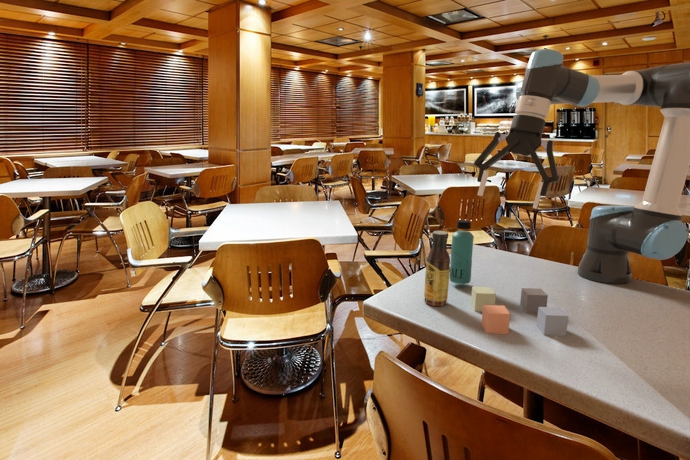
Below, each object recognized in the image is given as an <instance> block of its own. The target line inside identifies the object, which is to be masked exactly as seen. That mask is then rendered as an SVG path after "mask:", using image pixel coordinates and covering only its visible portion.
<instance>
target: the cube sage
mask: <svg viewBox="0 0 690 460" xmlns="http://www.w3.org/2000/svg"><path fill="white" fill-rule="evenodd" d="M496 296H497V294H496V292H495V291H494V289H493V287H491V286H472V287H471V298H470V305H471V306H472V308H473V310H474V311H475V312H483V305H496Z"/></svg>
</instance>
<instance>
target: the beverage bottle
mask: <svg viewBox="0 0 690 460" xmlns="http://www.w3.org/2000/svg"><path fill="white" fill-rule="evenodd" d="M455 227H456V229H459V230H456V231H455V232H454V233H452V238H451V247H450V255H449V256H450V273H449V281H450V282H451V283H454V284H458V285H466V284H470V283H471V280H472V268H473V264H472V263H473V260H472V259H473V248H474V237H475V236H474V235H473V233H472V232H470V231H468V230H470V229H471V228H472V223H471V221H470V220H467V219H466V220H465V219H460V220H459V219H458V220H457V221H456V226H455Z"/></svg>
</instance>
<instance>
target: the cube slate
mask: <svg viewBox="0 0 690 460" xmlns="http://www.w3.org/2000/svg"><path fill="white" fill-rule="evenodd" d="M568 322H569V315H568V314H567V313H566V312H565V311H564V310H563V309H562V308H561V307H559V306H558V307H557V306H555V307H553V306H547V307H538V313H537V319H536V328H538V330H539V331H540V332H541V334H542V335H543V336H557V337H559V336H560V337H566V336H567V332H568V326H569V325H568Z"/></svg>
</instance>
